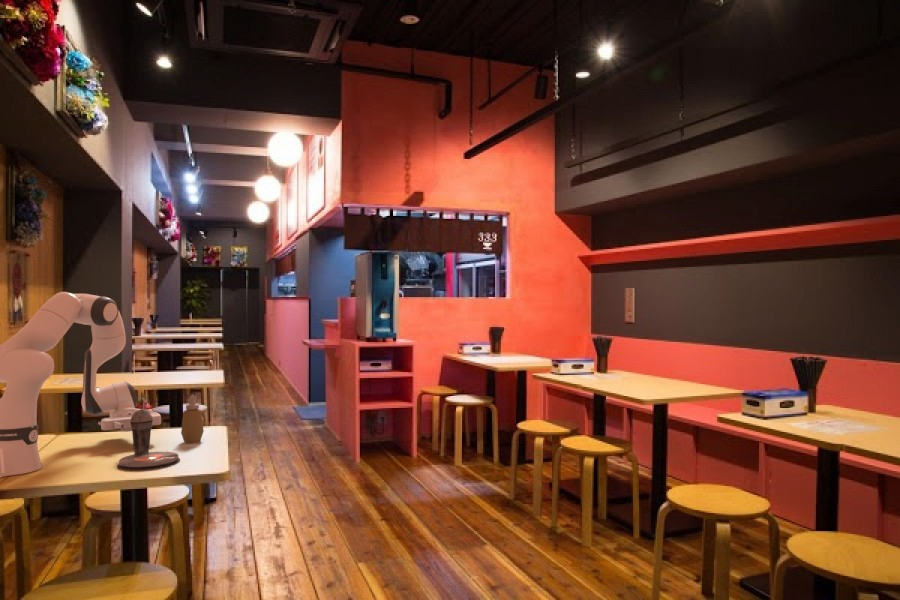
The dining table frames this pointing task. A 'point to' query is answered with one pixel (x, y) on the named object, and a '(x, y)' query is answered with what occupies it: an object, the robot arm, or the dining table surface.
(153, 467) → the base
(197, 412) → the squeeze bottle
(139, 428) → the beverage cup
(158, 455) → the dark round disc
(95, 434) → the dining table surface
